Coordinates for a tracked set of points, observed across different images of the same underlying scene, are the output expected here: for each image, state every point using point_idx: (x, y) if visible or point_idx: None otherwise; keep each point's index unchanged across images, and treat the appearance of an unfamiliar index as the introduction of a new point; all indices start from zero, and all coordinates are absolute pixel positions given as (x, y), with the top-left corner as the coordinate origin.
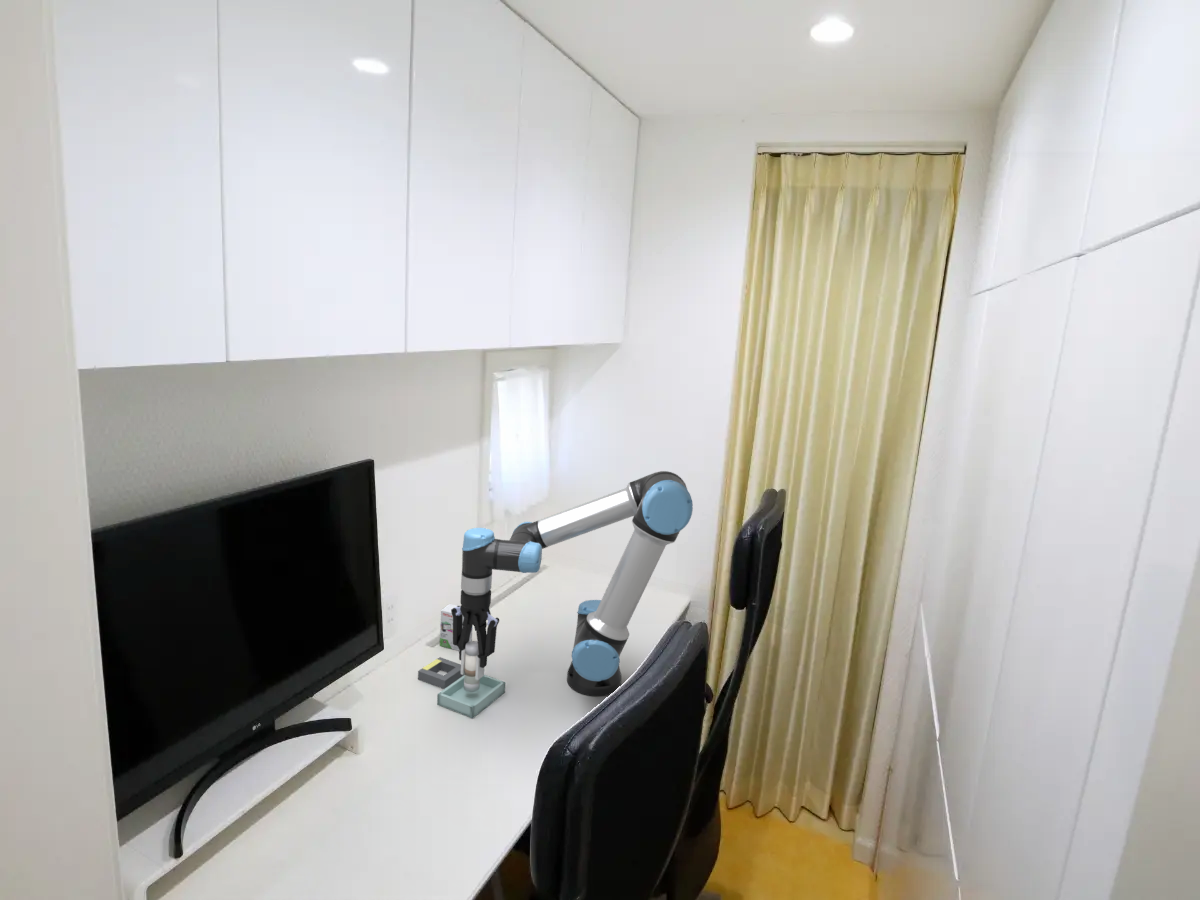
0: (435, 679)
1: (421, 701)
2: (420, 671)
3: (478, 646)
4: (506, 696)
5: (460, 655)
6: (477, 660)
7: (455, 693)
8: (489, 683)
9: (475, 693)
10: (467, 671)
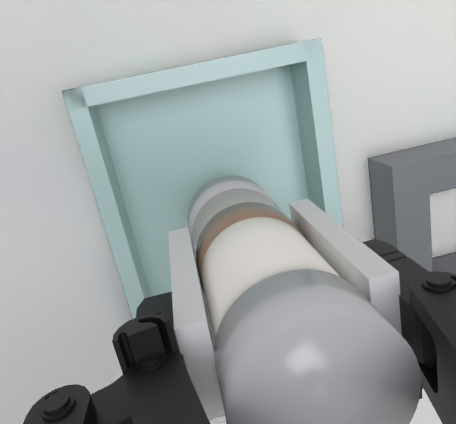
0: (441, 151)
1: (378, 5)
2: None
3: (201, 420)
4: (118, 324)
5: (390, 257)
6: (186, 302)
7: (296, 164)
8: None
9: None
10: (248, 213)
